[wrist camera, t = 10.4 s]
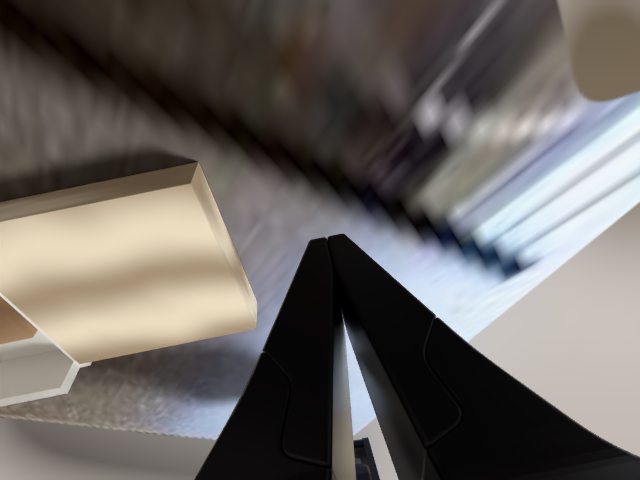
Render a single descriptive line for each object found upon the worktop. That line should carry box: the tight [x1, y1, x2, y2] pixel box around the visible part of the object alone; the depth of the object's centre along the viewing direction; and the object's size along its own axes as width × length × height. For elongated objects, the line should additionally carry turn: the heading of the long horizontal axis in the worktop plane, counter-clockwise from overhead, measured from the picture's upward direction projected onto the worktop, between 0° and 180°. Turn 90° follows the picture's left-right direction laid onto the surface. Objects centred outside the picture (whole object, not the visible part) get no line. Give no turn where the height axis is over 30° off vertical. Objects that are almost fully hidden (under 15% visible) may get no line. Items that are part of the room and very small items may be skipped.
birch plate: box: [0, 162, 257, 364], centre depth 22 cm, size 12×13×2 cm
